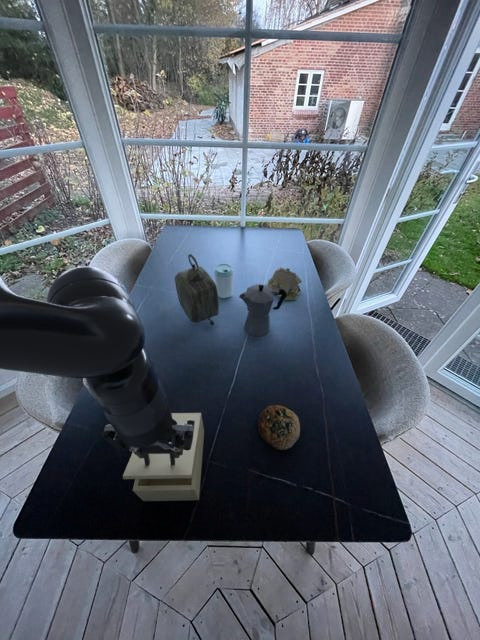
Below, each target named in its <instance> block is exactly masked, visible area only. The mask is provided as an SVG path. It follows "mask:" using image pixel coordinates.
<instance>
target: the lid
mask: <svg viewBox="0 0 480 640" xmlns="http://www.w3.org/2000/svg"><path fill="white" fill-rule="evenodd" d="M171 414H172V418H173V419H174V420H175V421H176V422H177V424H181V425H184V424H187V421H188V420H193V421H195V425H194V434H193V440H192V445H191V449H190V450H184V449H183V455H180V456H179V458H175V457H174V455H173V452H172V450H171V449H167V450H165V449H164V448H162V447H160V446H159V445H154V444H152V445H150V446H147V447H141V454H143V455H144V458H139V457H138V456H137V455H135V454H134V452H131V456H130V457H129V460H128V462H127V464H126V467H125V470H124V472H123V474H122V479H123V480H135V479H166V478H192V471H193V465H194V459H195V452H196V446H197V440H198V433H199V427H200V421H201V416H202V412H171Z"/></svg>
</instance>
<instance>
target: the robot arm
mask: <svg viewBox="0 0 480 640" xmlns="http://www.w3.org/2000/svg"><path fill="white" fill-rule="evenodd" d="M46 296H47V297H46V301H43V300H37V299H33V298H29V297H25V296H21V295H18V294H16V293H15V292H13V291H12V290H11V288H10V287H9V284H8V283H7V281H6V280H5V279H4V278H3V276H2V275H0V370H6V371H13V372H22V373H28V374H29V373H30V374H37V375H45V376H50V377H59V378H66V379H67V378H70V379H83V378H86V381H87V384H88V386H89V389H90V390H91V392H92V394H93V395H94V397H95V398H96V399H95V398H94V397H93V398H94V399H95V401H96V402H97V403H98V405H99V406H100V407H101V409H102V412H103V414H104V417H105V418H106V420H107V421H106V424H105V426H104V429H103V433H102V435H101V438H102V439H103V440H104V441H106V442H107V443H109V444H110V445H111V446H112V447H113V448H114V449H116V450H117V451H125V449H128V451H129V452H131V453H133V452H134V454H135V455H137V456H138V457H139V458H144V455H143V454H141V447H147V446H150V445H152V444H154V445H159V446H160V447H162V448H164V449H165V450H167V449H171V450H172V452H173V455H174V457H175V458H179V456H180V455H183V449H184V450H190V449H191V445H192V440H193V434H194V425H195V421H193V420H188V421H187V424H184V425H181V424H177V422H176V421H175V420H174V419H173V418H172V414H171V413H172V410H171V407H170V405H169V400H168V395H167V393H166V391H165V389H164V385H163V384H162V382H161V380H160V379H159V377H158V373H157V371H156V367H155V365H154V362H153V360H152V358H151V355H150V354H149V352H148V350H147V349H146V346H145V342H146V335H145V329H144V326H143V323H142V321H141V318H140V316H139V314H138V311H137V310H136V307H135V305H134V302H133V301H132V298H131V296H130V294H129V291H128V289H127V288H126V286H125V285H124V283H123V282H121V279H119V278H118V277H116V276H115V275H113V274H112V273H110V272H109V271H107V270H105V269H102V268H99V267H95V266H77V267H73V268H70V269H68V270H66V271H64V272H62V273H61V274H59V276H58V277H57V278H55V280H54V281H53V282H52V283H51V285H50V287H49V289H48V293H47V295H46Z"/></svg>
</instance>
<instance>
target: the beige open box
mask: <svg viewBox="0 0 480 640" xmlns="http://www.w3.org/2000/svg"><path fill="white" fill-rule="evenodd" d="M204 440H205V428H204V421H203V415H201V421H200V427H199V433H198V440H197V446H196V452H195V459H194V465H193V471H192V478H166V479H134V484H133V488H132V492H133V493H134V494H135V495H136V496H138V498H139V499H140V500H141V501H143V502H172V501H173V502H175V501H176V502H177V501H200V493H201V492H200V490H201V477H202V467H203V453H204Z"/></svg>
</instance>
